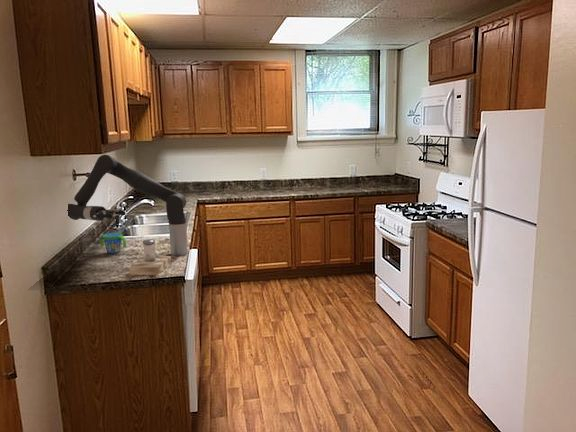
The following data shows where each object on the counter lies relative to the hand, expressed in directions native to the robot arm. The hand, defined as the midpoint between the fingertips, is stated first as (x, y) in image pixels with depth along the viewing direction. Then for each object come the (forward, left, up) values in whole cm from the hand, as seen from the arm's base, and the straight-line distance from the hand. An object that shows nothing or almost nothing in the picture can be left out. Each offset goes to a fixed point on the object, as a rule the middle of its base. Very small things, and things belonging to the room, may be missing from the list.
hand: (118, 214), depth 232 cm
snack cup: (-24, -16, -26) cm, 39 cm away
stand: (+8, +18, -26) cm, 33 cm away
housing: (+8, +18, -22) cm, 29 cm away
